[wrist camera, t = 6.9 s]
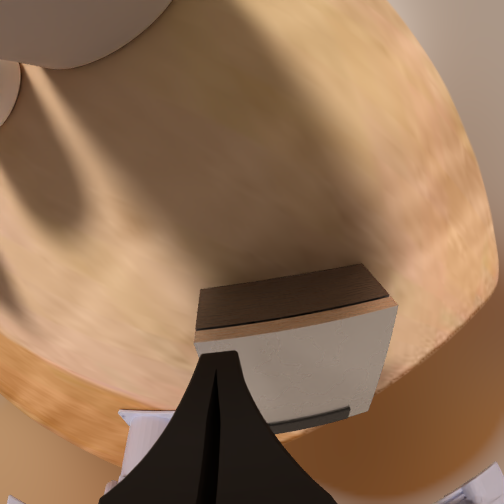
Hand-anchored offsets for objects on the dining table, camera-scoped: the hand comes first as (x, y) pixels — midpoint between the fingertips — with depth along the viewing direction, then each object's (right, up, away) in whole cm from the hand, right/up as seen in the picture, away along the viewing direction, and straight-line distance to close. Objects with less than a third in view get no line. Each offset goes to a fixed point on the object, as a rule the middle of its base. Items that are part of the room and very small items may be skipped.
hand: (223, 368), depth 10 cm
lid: (+4, -5, +8) cm, 10 cm away
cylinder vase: (-9, +22, 0) cm, 24 cm away
